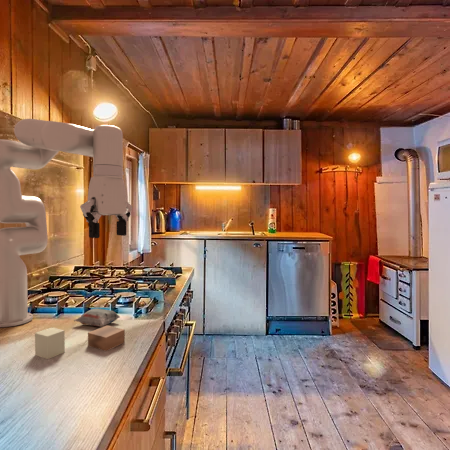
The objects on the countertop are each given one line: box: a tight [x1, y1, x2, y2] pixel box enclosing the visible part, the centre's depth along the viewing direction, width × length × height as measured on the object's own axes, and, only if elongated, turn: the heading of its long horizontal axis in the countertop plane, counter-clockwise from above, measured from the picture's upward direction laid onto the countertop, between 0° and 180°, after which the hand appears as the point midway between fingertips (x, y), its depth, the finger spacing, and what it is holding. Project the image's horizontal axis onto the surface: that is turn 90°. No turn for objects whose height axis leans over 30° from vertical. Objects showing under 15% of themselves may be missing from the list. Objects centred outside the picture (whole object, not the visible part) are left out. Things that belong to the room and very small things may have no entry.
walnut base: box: [87, 324, 126, 352], centre depth 98 cm, size 7×7×4 cm
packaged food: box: [73, 308, 120, 328], centre depth 114 cm, size 9×12×5 cm
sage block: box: [34, 327, 66, 360], centre depth 91 cm, size 5×5×6 cm
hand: (108, 236), depth 93 cm, fingers open, 9 cm apart
